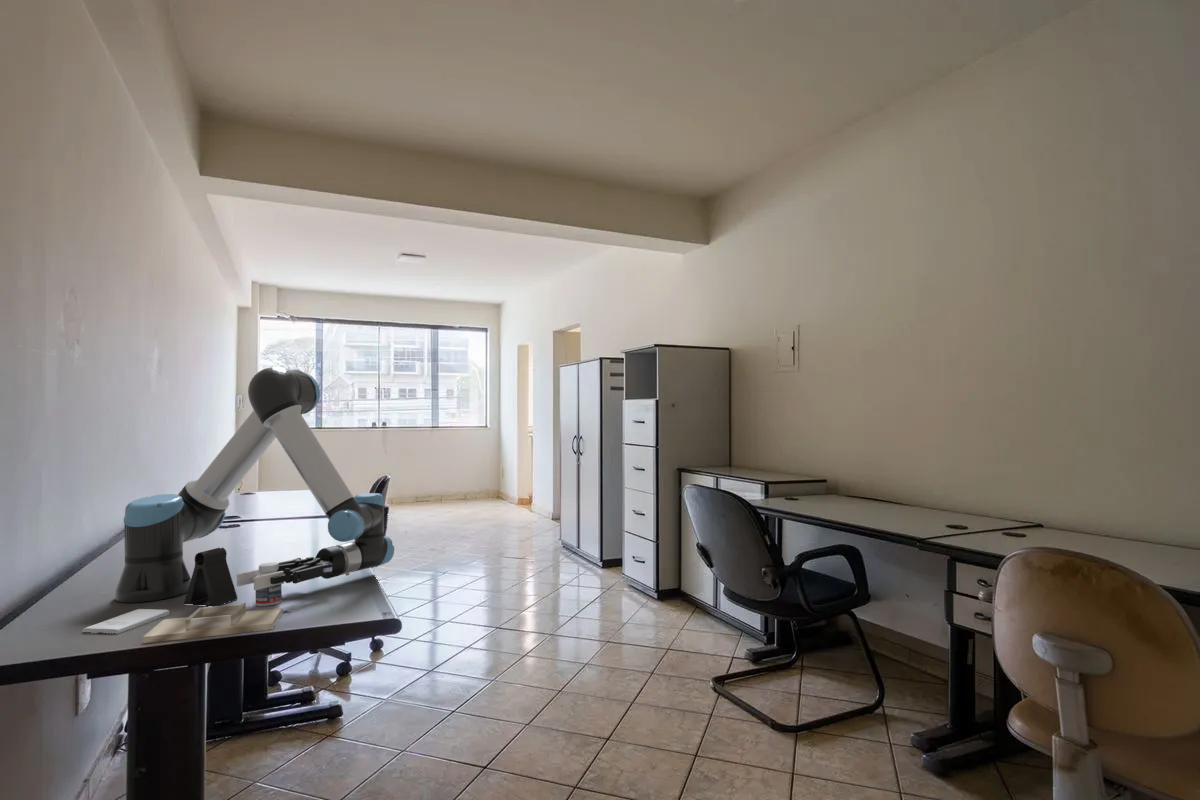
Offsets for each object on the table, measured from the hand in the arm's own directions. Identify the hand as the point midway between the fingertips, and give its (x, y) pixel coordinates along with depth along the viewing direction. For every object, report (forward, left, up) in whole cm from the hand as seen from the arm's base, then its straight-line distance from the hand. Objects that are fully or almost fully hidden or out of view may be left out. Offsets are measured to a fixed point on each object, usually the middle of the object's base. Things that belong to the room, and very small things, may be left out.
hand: (246, 581), depth 141 cm
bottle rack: (+7, -10, -6) cm, 14 cm away
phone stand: (-13, -1, -6) cm, 14 cm away
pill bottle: (0, +5, -6) cm, 8 cm away
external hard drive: (-13, -18, -7) cm, 23 cm away
